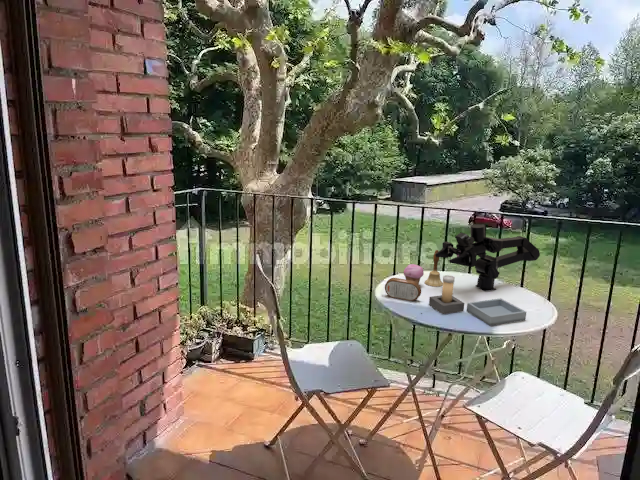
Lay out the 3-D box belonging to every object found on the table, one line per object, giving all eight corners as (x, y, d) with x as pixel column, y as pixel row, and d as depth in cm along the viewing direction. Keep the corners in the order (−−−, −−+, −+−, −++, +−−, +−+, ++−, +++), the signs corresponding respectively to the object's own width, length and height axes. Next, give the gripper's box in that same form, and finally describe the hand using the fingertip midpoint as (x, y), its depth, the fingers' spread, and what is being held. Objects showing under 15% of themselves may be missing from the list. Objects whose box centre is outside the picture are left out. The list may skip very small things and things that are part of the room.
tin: (420, 300, 192) (422, 281, 190) (419, 303, 189) (420, 283, 187) (385, 294, 198) (386, 275, 196) (383, 297, 195) (384, 278, 193)
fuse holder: (449, 302, 191) (450, 294, 190) (463, 311, 182) (464, 303, 181) (428, 304, 188) (429, 296, 187) (442, 314, 179) (443, 305, 178)
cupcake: (405, 281, 214) (407, 260, 212) (424, 284, 211) (426, 263, 208) (400, 287, 206) (401, 266, 204) (419, 290, 203) (421, 269, 200)
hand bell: (446, 283, 213) (449, 249, 209) (438, 288, 206) (441, 253, 202) (429, 279, 218) (432, 246, 214) (421, 284, 211) (423, 250, 207)
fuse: (447, 305, 187) (450, 274, 184) (454, 309, 183) (457, 278, 180) (438, 306, 186) (440, 275, 183) (444, 310, 182) (447, 279, 179)
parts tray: (499, 306, 187) (500, 298, 186) (525, 320, 175) (526, 311, 174) (466, 311, 182) (467, 302, 181) (490, 326, 169) (491, 317, 168)
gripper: (457, 227, 204) (428, 234, 199) (488, 237, 188) (457, 245, 182) (457, 251, 208) (429, 259, 202) (487, 262, 191) (457, 272, 186)
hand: (442, 258), depth 193 cm, fingers open, 9 cm apart
